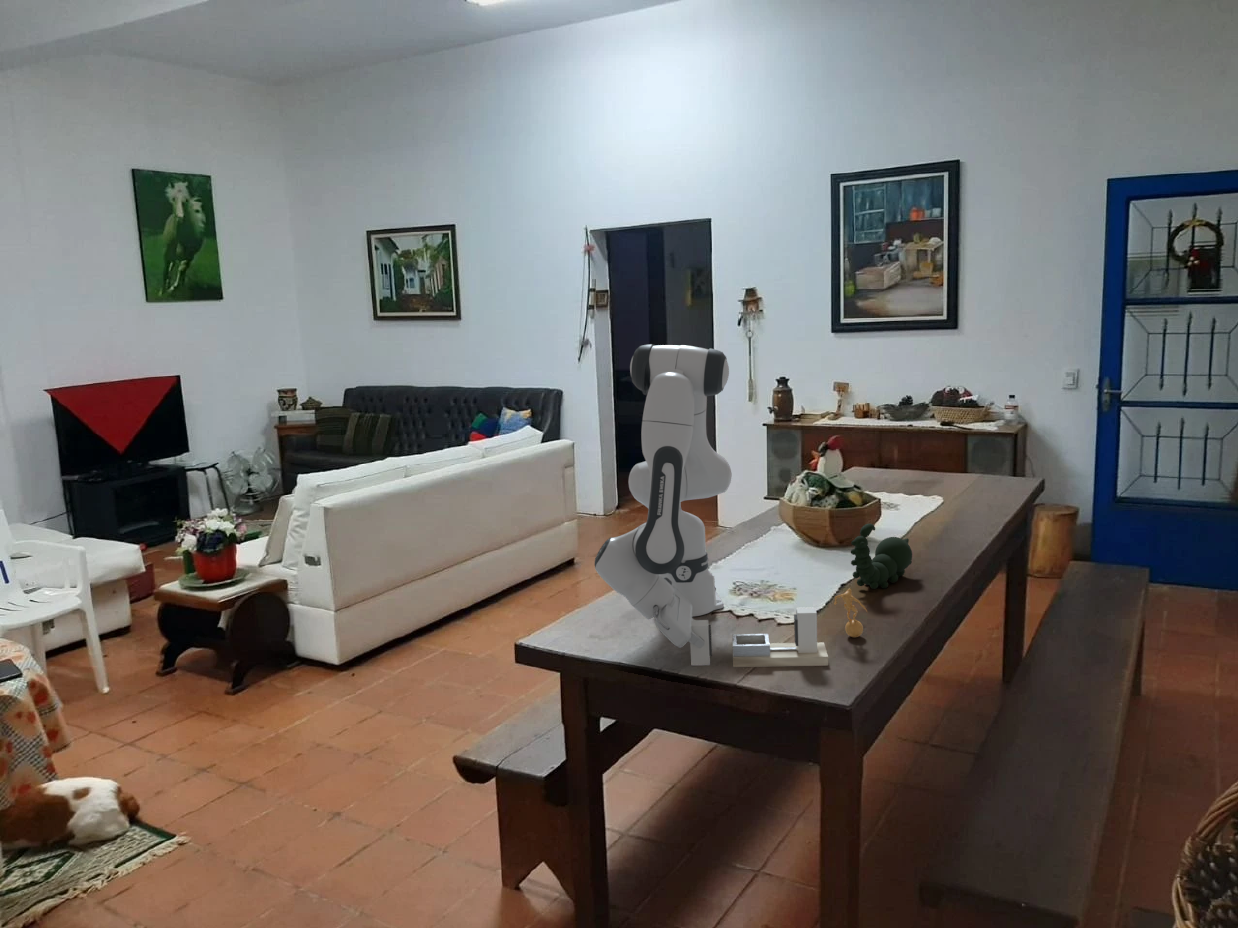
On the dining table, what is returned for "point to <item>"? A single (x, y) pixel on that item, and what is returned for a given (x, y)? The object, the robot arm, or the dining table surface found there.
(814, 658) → the rail
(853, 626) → the figurine
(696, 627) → the block
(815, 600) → the dining table surface
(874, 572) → the toy figurine
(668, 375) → the robot arm
